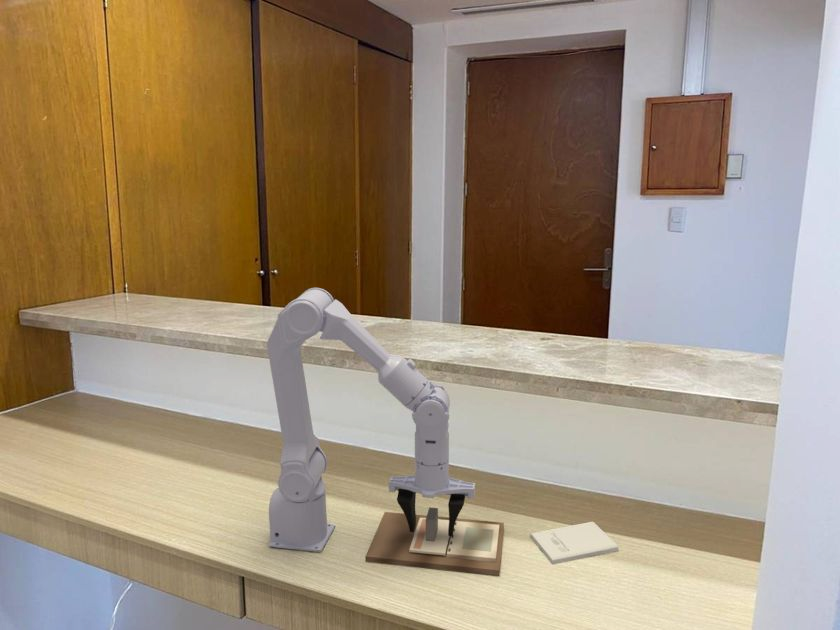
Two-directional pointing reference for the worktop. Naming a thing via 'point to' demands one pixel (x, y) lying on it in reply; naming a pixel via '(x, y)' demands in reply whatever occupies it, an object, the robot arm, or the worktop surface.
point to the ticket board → (466, 549)
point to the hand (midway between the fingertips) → (431, 530)
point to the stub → (431, 534)
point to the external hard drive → (573, 542)
